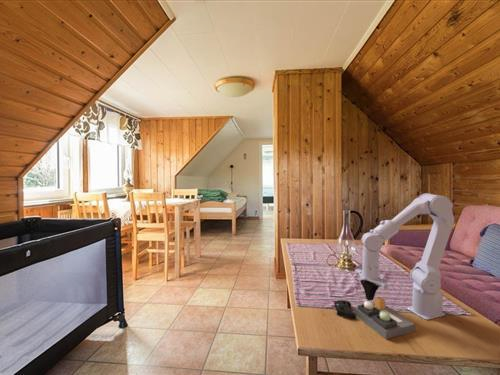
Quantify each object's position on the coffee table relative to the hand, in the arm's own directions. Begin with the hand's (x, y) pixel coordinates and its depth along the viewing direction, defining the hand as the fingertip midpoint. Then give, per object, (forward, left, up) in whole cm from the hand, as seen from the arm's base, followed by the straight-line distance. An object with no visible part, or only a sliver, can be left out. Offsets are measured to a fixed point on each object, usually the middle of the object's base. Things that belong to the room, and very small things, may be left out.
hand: (369, 299), depth 95 cm
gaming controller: (+11, -1, -4) cm, 11 cm away
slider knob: (0, +5, 0) cm, 5 cm away
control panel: (+3, +9, -3) cm, 10 cm away
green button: (+6, +12, 0) cm, 13 cm away
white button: (+6, +5, 0) cm, 8 cm away
